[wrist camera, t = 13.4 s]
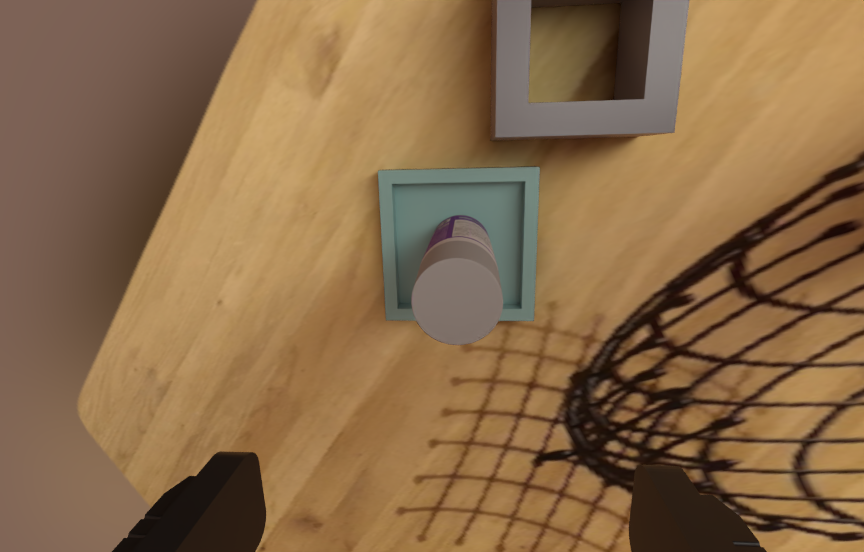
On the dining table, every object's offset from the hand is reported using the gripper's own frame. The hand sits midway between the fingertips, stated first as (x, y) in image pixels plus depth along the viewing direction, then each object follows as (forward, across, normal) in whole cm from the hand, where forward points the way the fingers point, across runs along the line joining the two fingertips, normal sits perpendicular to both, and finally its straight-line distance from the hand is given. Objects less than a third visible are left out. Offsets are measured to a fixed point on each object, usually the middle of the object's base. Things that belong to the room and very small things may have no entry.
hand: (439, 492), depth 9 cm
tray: (+28, 0, 0) cm, 28 cm away
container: (+28, 0, 0) cm, 28 cm away
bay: (+28, -8, -14) cm, 32 cm away
